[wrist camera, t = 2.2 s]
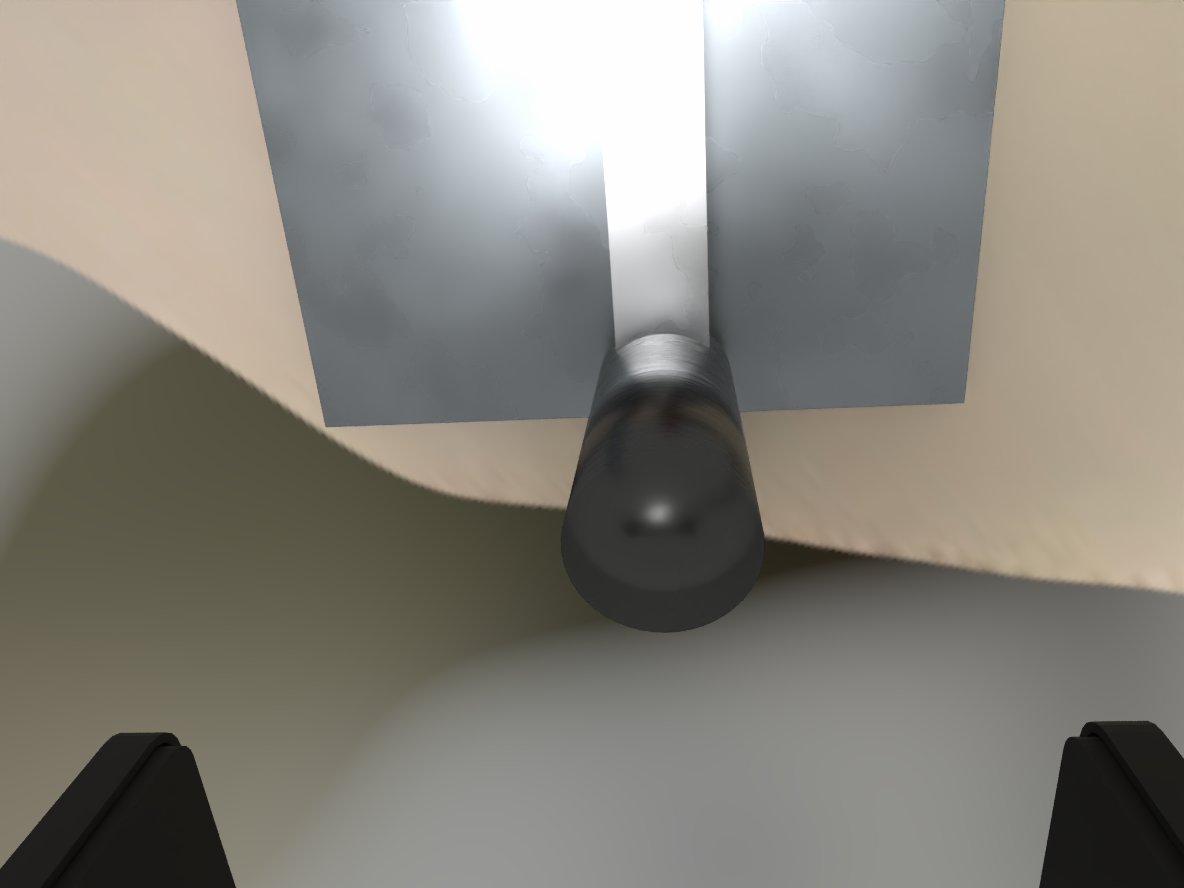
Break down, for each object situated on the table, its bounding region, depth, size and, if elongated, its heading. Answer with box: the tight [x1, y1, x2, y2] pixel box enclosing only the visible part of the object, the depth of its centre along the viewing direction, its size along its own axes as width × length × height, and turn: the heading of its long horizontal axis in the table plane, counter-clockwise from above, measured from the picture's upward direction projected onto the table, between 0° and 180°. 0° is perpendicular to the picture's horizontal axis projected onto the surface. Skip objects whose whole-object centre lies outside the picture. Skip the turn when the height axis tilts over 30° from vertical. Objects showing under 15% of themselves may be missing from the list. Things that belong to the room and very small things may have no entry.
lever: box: [561, 0, 765, 633], centre depth 16 cm, size 18×4×9 cm, turn 4°
